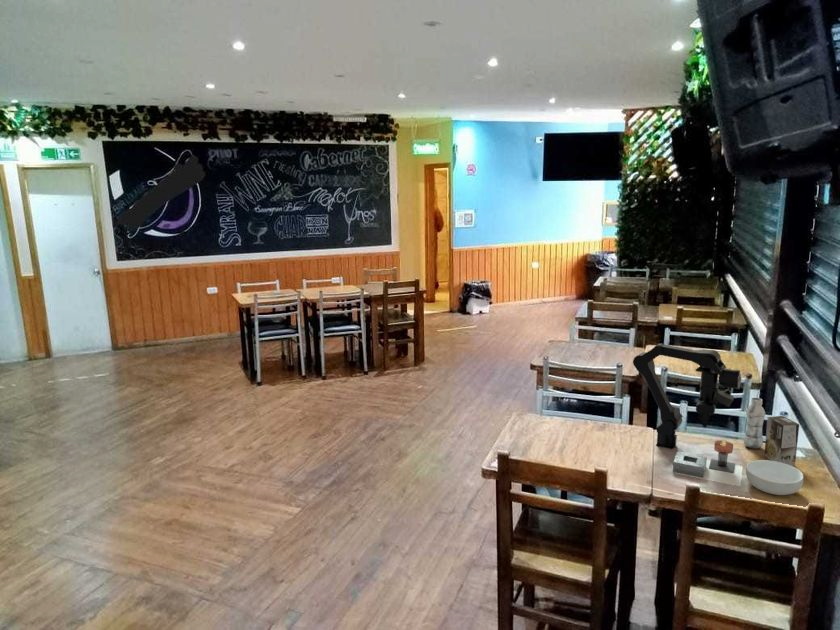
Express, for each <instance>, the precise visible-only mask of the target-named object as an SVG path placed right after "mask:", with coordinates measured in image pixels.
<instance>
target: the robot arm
mask: <svg viewBox="0 0 840 630" xmlns="http://www.w3.org/2000/svg"><path fill="white" fill-rule="evenodd" d="M659 356H665V357H669V358H674V359H679V360H683V361H690V362H692V363H694V364H696V365H697V366H698V367H696V368H695V372H698V373H699V372H700V385H699V397H698V401H699V402H697V403H696V405H695V412H696V413H697V415H698V418H699V420H700V423H701V425H702V427H703V428H707V427H708V423H709V420H710V416H712V415H715V413H716V405H717V404H718V403H719V404H722V405H724V406H725V407H728V408H729V407H731V404H732V403H733V401H734V395H733V394H732V391H731V390H730V389H725V390H720V389H719V386H718V384H719V385H721V387H725V388H731V389H737V390H740V387H741V385H742V384H741V383H742V376H741V370H740V369H731V368H727V366H726V364H724V362H723V360H722V358H721V354H720V353H719V352H718V351H717V350H714V349H690V348H684V347H679V346H676V345H674V346H673V345H669V344H664V343H658V344H656V345H655V346H653V348H651V349H650V350H649V351H643V352H640V353H639V354H637V355H636V356H635V357H634V358H633V360H632V364H633V366H634V368H635V369H636V371H638V373H639V374H640V375H641V376H642V377H643V378H644V380H645V382H646V384H647V386H648V388H649V390H650V392H651V395H652V396H653V398H654V401H655V402H656V405H657V407H658V409H659V415H660V421H661V423H660V424H659V425H657V426H656V428H655V429H656V433H657V436H656V437H657V439H656V444H655V447H659V448H665V449H671V450H674V449H675V447H676V446H677V439H678V435H677V434H676V431H677V430H678V428H679V427H680V426H681V425H682V424H683V416H684V415H683V414H682V413H681V412H680V408H679V407H676V408H675V407H674V406H673V405H672V404H671V402H670V400H669V398H668V396H667V394H666V392H665V390H664V387H663V386H662V384H661V381H660V379H659V377H658V375H657V372H656V365H655V361H654V360H655V359H657V358H658V357H659Z"/></svg>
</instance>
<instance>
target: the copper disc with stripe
mask: <svg viewBox="0 0 840 630" xmlns="http://www.w3.org/2000/svg"><path fill="white" fill-rule="evenodd" d="M713 449H714V451H715V452H718V453H717V454H718V455H717V460H718V466H720V467H727V462H728V457H729V456H728V455H729V454H730V455H731V454H732V453H733V452H734V444H733V443H732V442H730V441H727V440H726V439H725V440H724V439H722V440H715V441H714V447H713Z"/></svg>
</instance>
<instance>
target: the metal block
mask: <svg viewBox="0 0 840 630" xmlns="http://www.w3.org/2000/svg"><path fill="white" fill-rule="evenodd" d="M707 460H708V457H707V456H706V455H705V456H704V455H699V454H694V453H688V452H683V451H677V452H676V454H675V456H674V459H673V461H672V473H674V472H675V473H674V474H676V473H680V474H679V475H681V474H685V475H684V476H686V475H690V476H689V477H691V476H695V477H694V478H696V477H700V478H699V479H701V478H703V477H704V473H705V470H706V463H707Z"/></svg>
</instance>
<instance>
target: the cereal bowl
mask: <svg viewBox="0 0 840 630" xmlns="http://www.w3.org/2000/svg"><path fill="white" fill-rule="evenodd" d="M745 476H746V479H747V481H748V482H749V483H750V484H751V485H752V486H753V487H755V488H756V489H758V490H759V491H762V492H764V493H767V494H772V495H778V496H786V495H787V496H788V495H789V496H790V495H793V494H795V493H797V492H799V490H801V489H802V487H803V483H804V473H802V471H800V470H799V469H798V468H797V467H795V466H790V465H788V464H784V463H781V462H776V461H772V460H770V459H766V460H765V459H758V460H757V459H756V460H752V461H749V462H748V463H747V464H746V466H745Z"/></svg>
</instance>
